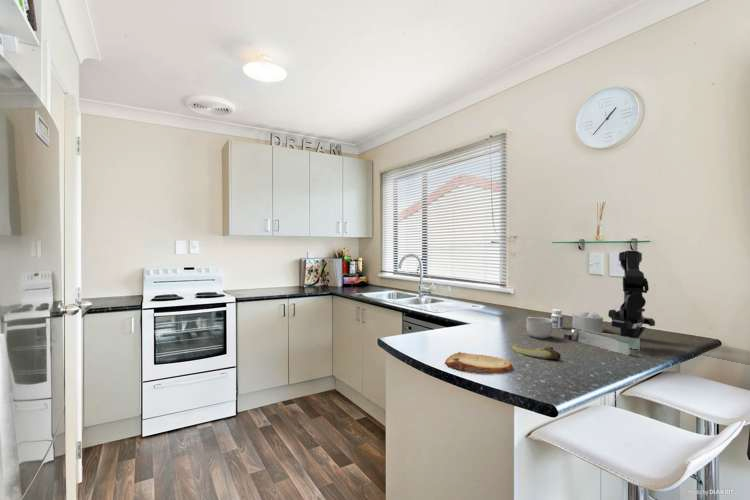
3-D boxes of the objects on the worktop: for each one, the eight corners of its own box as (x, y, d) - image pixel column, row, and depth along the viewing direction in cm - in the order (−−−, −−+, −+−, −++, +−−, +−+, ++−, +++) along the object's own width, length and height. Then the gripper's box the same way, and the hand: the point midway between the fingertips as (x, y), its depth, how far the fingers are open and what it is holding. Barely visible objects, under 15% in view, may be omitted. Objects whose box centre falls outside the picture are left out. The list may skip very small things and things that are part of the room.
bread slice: (517, 369, 116) (518, 358, 116) (485, 381, 105) (485, 369, 105) (472, 355, 130) (472, 345, 130) (439, 365, 119) (439, 353, 119)
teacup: (556, 340, 153) (557, 322, 153) (531, 339, 153) (532, 321, 153) (542, 332, 167) (542, 315, 167) (519, 332, 167) (519, 315, 167)
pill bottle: (560, 326, 181) (560, 309, 181) (564, 328, 176) (564, 311, 176) (549, 326, 181) (549, 308, 181) (553, 328, 176) (553, 310, 176)
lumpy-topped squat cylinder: (584, 326, 182) (585, 309, 182) (608, 332, 170) (609, 314, 170) (569, 327, 179) (569, 310, 179) (592, 333, 167) (593, 315, 166)
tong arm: (580, 340, 153) (580, 330, 153) (581, 340, 154) (581, 329, 154) (639, 350, 140) (639, 339, 140) (639, 349, 141) (639, 338, 140)
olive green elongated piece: (566, 358, 129) (566, 349, 129) (553, 364, 122) (553, 354, 122) (516, 347, 144) (516, 338, 144) (502, 351, 138) (502, 342, 138)
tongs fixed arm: (563, 338, 157) (563, 328, 157) (570, 337, 158) (570, 327, 158) (625, 355, 132) (625, 343, 132) (632, 354, 134) (632, 342, 134)
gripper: (627, 301, 155) (626, 337, 155) (598, 303, 147) (598, 341, 147) (656, 305, 144) (655, 343, 145) (626, 308, 137) (626, 348, 137)
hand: (632, 343), depth 144 cm, fingers closed
